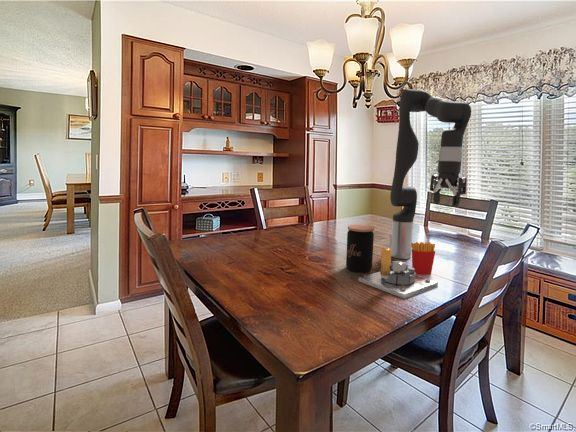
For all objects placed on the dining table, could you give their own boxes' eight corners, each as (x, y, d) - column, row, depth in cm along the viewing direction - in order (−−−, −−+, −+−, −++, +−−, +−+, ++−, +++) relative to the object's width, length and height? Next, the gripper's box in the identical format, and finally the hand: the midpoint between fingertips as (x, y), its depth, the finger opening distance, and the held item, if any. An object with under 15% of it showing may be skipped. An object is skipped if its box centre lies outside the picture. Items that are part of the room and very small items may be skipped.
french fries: (430, 272, 141) (433, 241, 139) (434, 275, 137) (437, 243, 135) (408, 271, 142) (410, 240, 140) (410, 274, 138) (413, 243, 136)
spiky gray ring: (391, 272, 135) (393, 239, 133) (419, 279, 127) (421, 244, 125) (367, 282, 123) (369, 247, 121) (397, 291, 115) (399, 253, 113)
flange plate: (358, 281, 130) (359, 260, 128) (392, 271, 141) (393, 252, 140) (404, 298, 114) (405, 275, 113) (437, 286, 125) (439, 265, 124)
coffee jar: (341, 266, 147) (342, 225, 144) (362, 264, 151) (364, 223, 148) (354, 274, 137) (356, 230, 134) (377, 271, 141) (379, 228, 138)
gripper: (427, 159, 129) (423, 202, 132) (458, 160, 116) (453, 207, 119) (442, 159, 131) (438, 201, 134) (474, 160, 119) (469, 206, 121)
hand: (445, 204), depth 126 cm, fingers open, 8 cm apart
